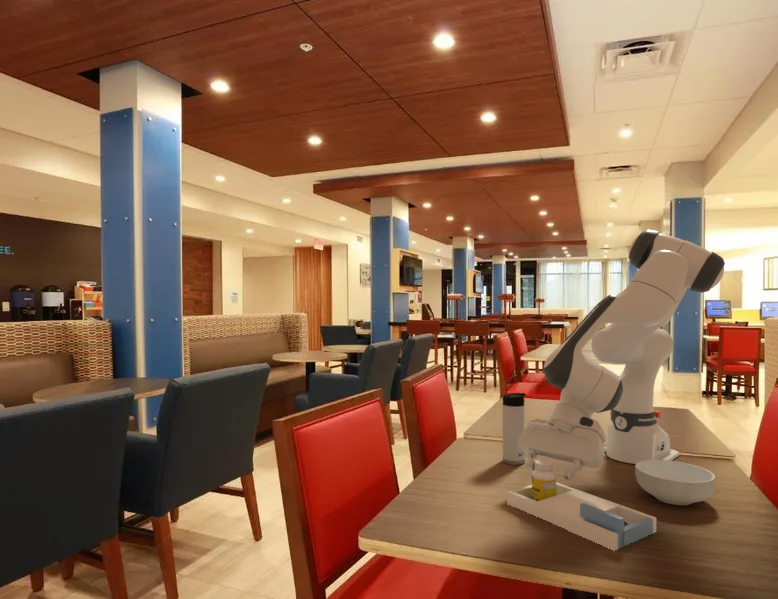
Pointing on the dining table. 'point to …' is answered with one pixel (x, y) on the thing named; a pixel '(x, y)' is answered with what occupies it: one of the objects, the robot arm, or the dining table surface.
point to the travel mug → (513, 427)
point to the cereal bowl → (675, 481)
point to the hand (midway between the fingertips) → (548, 473)
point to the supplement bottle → (543, 480)
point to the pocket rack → (586, 515)
